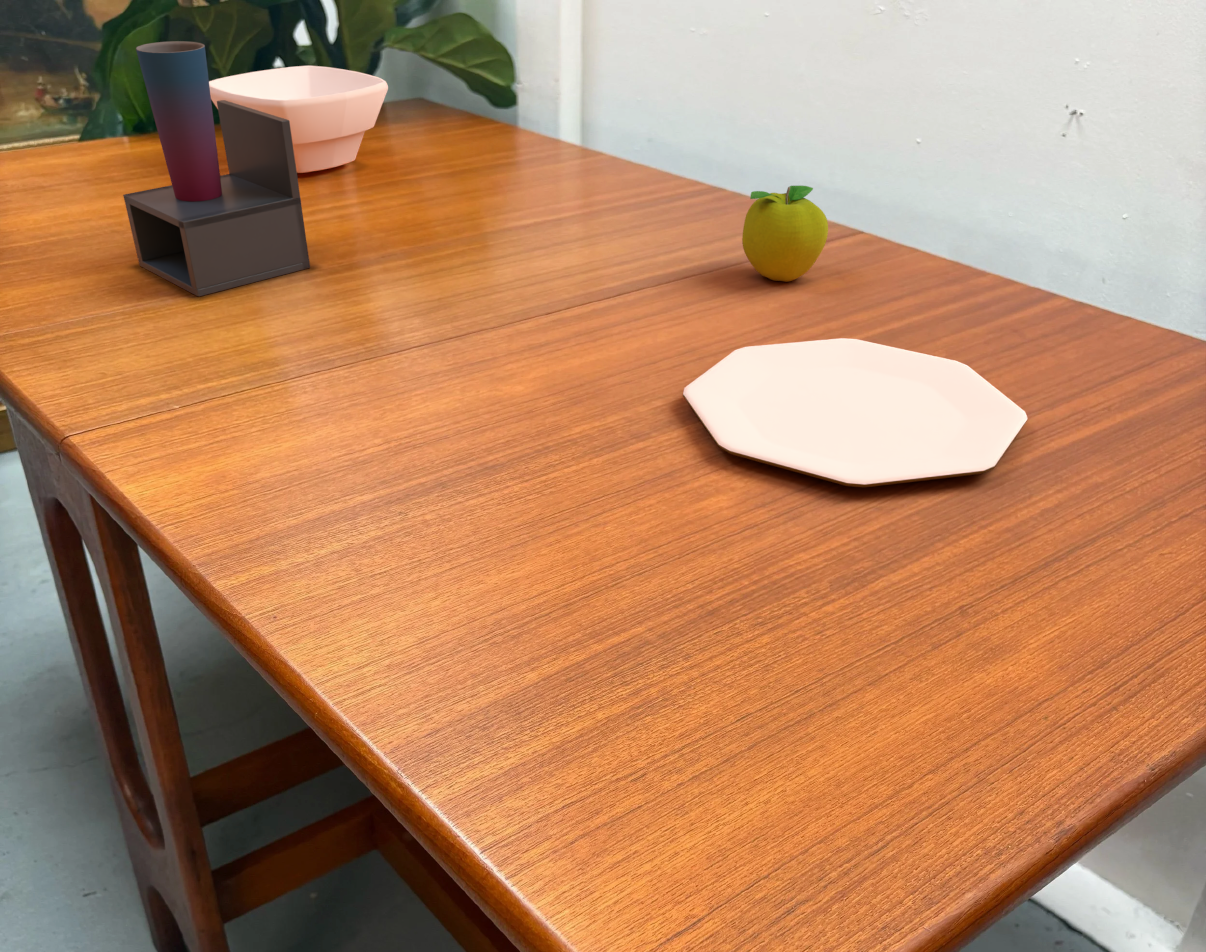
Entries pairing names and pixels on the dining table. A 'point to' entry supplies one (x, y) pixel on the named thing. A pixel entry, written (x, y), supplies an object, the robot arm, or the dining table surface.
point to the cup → (183, 116)
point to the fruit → (784, 233)
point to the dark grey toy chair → (228, 213)
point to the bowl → (311, 108)
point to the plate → (855, 412)
